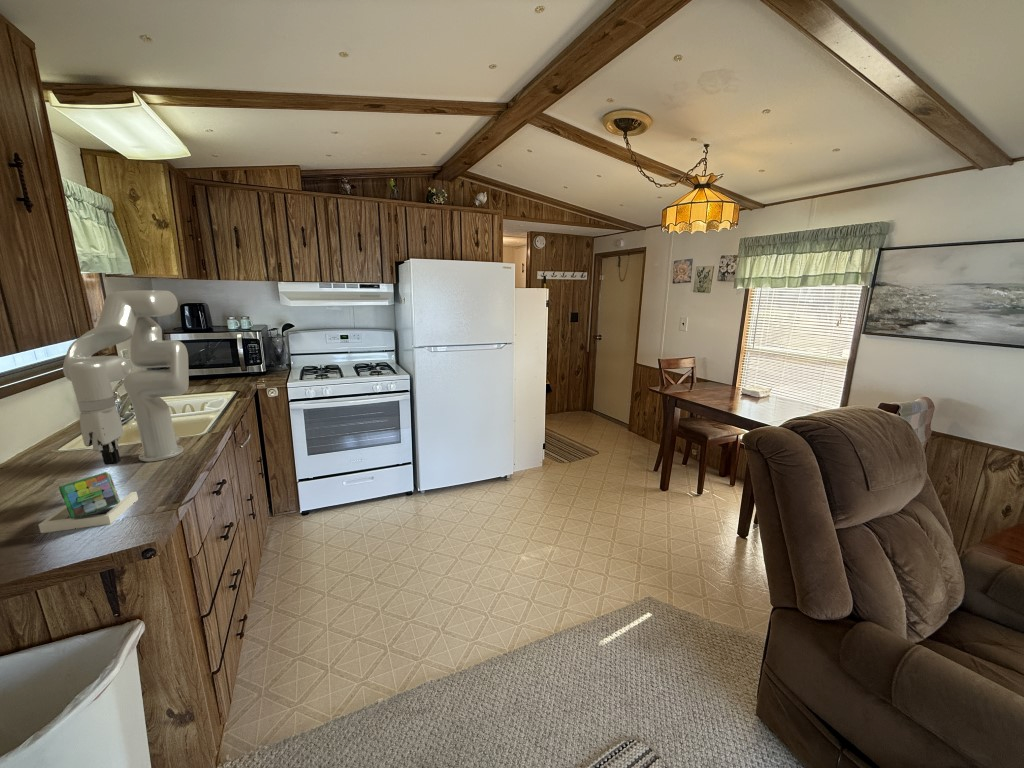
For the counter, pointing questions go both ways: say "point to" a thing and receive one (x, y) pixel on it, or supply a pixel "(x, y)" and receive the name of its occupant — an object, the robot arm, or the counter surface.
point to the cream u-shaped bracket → (85, 517)
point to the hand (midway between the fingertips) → (112, 463)
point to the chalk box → (89, 495)
